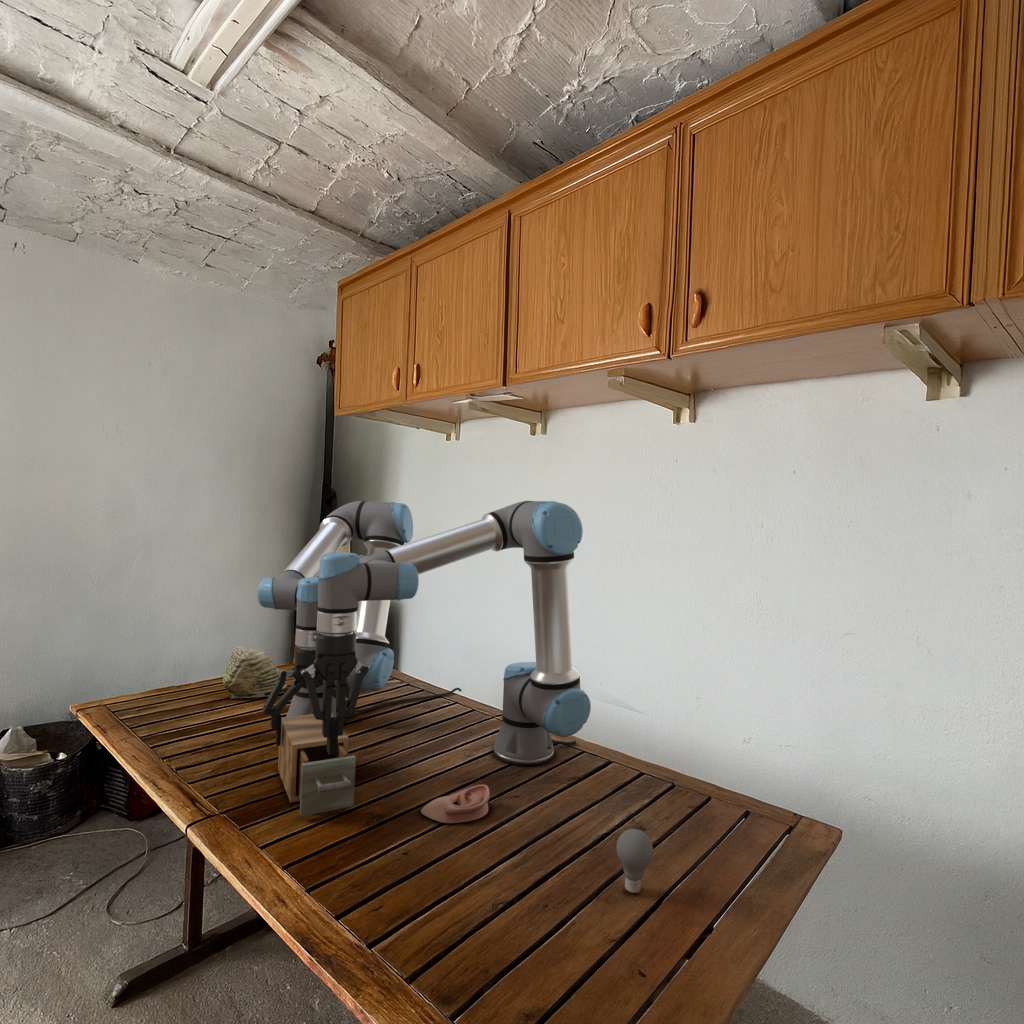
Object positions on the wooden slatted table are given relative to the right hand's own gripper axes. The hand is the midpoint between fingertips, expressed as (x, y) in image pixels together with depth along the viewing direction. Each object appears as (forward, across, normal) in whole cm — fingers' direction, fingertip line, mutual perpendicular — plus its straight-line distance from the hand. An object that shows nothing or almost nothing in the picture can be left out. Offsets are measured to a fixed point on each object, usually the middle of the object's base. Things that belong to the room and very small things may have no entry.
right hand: (331, 752), depth 124 cm
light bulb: (+14, +41, -42) cm, 60 cm away
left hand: (+6, 0, +23) cm, 24 cm away
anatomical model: (+14, +24, -6) cm, 28 cm away
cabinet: (+14, 0, +19) cm, 24 cm away
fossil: (+14, -5, +87) cm, 88 cm away
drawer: (+13, 0, +7) cm, 15 cm away
